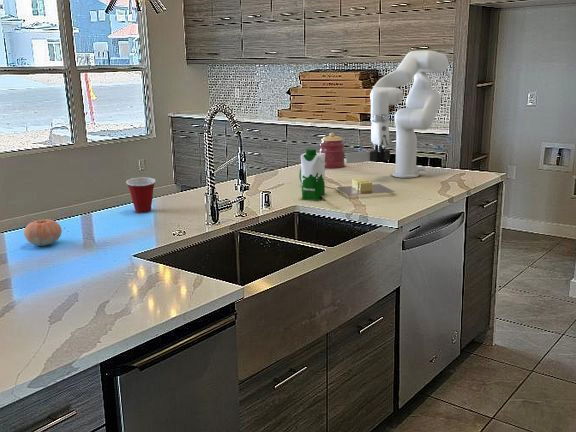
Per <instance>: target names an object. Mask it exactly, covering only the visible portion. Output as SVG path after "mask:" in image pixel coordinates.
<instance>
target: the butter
mask: <svg viewBox="0 0 576 432" xmlns="http://www.w3.org/2000/svg"><path fill="white" fill-rule="evenodd" d="M361 182H370V180H367V179H365V178H363V177H362V178H351V186H352V187H353V188H354V189H356V190H359V183H361Z"/></svg>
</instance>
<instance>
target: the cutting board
mask: <svg viewBox="0 0 576 432" xmlns="http://www.w3.org/2000/svg"><path fill="white" fill-rule="evenodd" d="M335 188H336V189H338V190H340V191H341V192H343V193H344V194H347V196H357V195H371V194H382V193H395V192H396V191H395V190H393V189H391V188H388V187H386V186H385V185H383V184H380V183H376V184H375V183H374V184H373V183H372V191H366V192H360V191H359V190H356V189H354V188H353V187H352V185H348V186H337V187H335Z"/></svg>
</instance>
